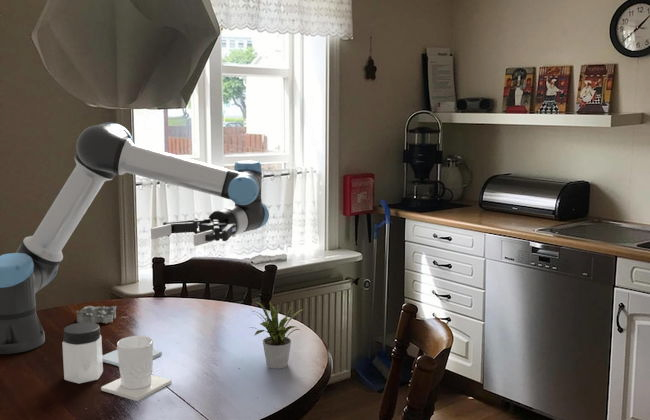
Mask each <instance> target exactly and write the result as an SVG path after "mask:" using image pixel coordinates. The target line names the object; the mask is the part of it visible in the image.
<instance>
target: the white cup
mask: <svg viewBox="0 0 650 420" xmlns="http://www.w3.org/2000/svg"><path fill="white" fill-rule="evenodd" d="M116 346H117V347H116V350H118V362H119V366H118V369H119V374H120V375H119V376H120V378H121V385H122V386H123V387H124V388H127V389H140V388H144V387H147V386H148V385H150V384H151V380H152V375H153V374H152V373H153V365H154V363H153V361H154V359H153V350H154V339H153V338H152V337H150V336H146V335H133V336H126V337H124V338H121V339H119V340H118V341H117V343H116Z"/></svg>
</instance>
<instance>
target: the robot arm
mask: <svg viewBox="0 0 650 420" xmlns="http://www.w3.org/2000/svg"><path fill="white" fill-rule="evenodd" d="M75 145H76V146H75V148H76V154H75V156H74V161H75V164H76V165H75V167H74V169H73V171H72V172H71V174H70V175H69V176H68V178H67V180H66V181H65V183H64V185H63V187H62V188H61V189H60V191H59V193H58V195H57V196H56V197H55V200H54V201H53V203H52V204H51V206H50V207H49V209H48V210H47V212H46V214H45V215H44V217H43V219H42V220H41V222H40V224H39V225H38V227H37V228H36V230H35V231H34V234H33V235H30V236H29V235H28V236H26V237H24V238H23V240H22V242H21V243H20V245H19V247H18V248H17V250H16V251H15V252H12V253H11V252H10V253H4V254H1V255H0V355H11V354H12V355H13V354H19V353H24V352H28V351H31V350H34V349H37V348H38V347H40V346H42V345H43V344H44V343H45V342H46V336H45V330H44V328H43V326H42V324H41V321H40V318H39V317H38V315H37V307H36V306H37V303H36V294H37V293H38V292H39V291H40V290H42V289H43V288H44V287H46V286H48V285H49V284H50V283H51V282H52V281H53V280H54V278H55V277H56V275H57V273H58V270H59V269H58V268H59V267H60V264H61V262H62V261H63V259H64V255H63V251H62V250H63V248H64V247H65V246H66V244H67V242H68V241H69V239H70V237H71V236H72V234H73V233H74V232H75V229H76V228H77V227H78V225H79V224H80V222H81V220H82V219H83V217H84V216H85V214H86V213H87V211H88V209H89V207H90V206H91V204H92V203H93V201H94V200H95V198H96V196H97V195H98V193H99V191H100V190H101V188H102V187H103V185H104V183H105V182H107V181H112V180H113V179H114V178H115V176H116V175H118V176H122V175H125V174H131V175H135V176H139V177H143V178H146V179H150V180H154V181H158V182H162V183H165V184H170V185H173V186H176V187H181V188H184V189H189V190H193V191H197V192H200V193H205V194H209V195H212V196H217V197H220V198H222V199H223V198H224V199H227V200H230V201H232V202H233V203H234V206H231V207H227V208H224V209H219V210H216V211H213V212H211V214H210V215H209V217H207V218H203V219H198V218H191V219H185V220H175V221H164V222H162V225H159V226H155V227H151V228H150V239H151V240H156V239H160V238H164V237H171V235H172V234H183V233H184V234H185V233H193V246H194V247H197V246H201V245H204V244H208V243H211V242H214V241H216V242H218V241H220V240H222V242H226V241H228V240H229V239H230V238H231V237H233V238H234V237H236V235H238V234H243V233H246V232H250V231H254V230H258V229H260V228H262V227H263V226H265V225H266V224H267V223H268V221H269V219H270V218H269V217H270V212H269V209H268V207H267V205H266V204H264V202H263V200H262V189H263V188H262V183H263V182H262V180H263V179H262V178H263V177H262V175H263V172H262V163H261V162H260V161H256V160H240V161H236V162H235V163H234V169H233V170H232V169H229V168H226V167H222V166H218V165H213V164H210V163H206V162H203V161H198V160H195V159H191V158H187V157H184V156H180V155H176V154H173V153H169V152H165V151H162V150H161V151H160V150H157V149H154V148H149V147H147V146H143V145H139V144H136V143H135V144H134V138H133V137H132V134H131V132H130V131H129V130H128V129H127V128H126V127H125V126H123V125H121V124H119V123H115V122H103V123H101V124H95V125H90V126H88V127H86V128H85V129H84V130H82V131H81V132H80V134H79V136H78V138H77V141H76V144H75Z"/></svg>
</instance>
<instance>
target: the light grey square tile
mask: <svg viewBox="0 0 650 420" xmlns="http://www.w3.org/2000/svg"><path fill="white" fill-rule="evenodd" d="M162 354H163V352H162V351H159V350H156V349H153V360H154V359H156V358H158V357H160V356H162ZM102 359H103V363H106V364H110V365H113V366H117V367H119V362H118V350H117V349H115V350H112V351H110V352H108V353H105V354H102Z"/></svg>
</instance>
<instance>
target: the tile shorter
mask: <svg viewBox="0 0 650 420" xmlns="http://www.w3.org/2000/svg"><path fill="white" fill-rule="evenodd" d="M171 384H172V379H169V378H165V377H161V376H157V375H154V374H152V380H151V384H150V385H148V386H147V387H144V388H140V389H127V388H124V387H123V386H122V385H121V377H119V378H118V379H115V380H113V381H111V382H109V383H106V384H104V385H102V386H101V387H100V391H102V392H106V393H109V394H113V395H115V396H119V397H122V398H125V399H129V400H131V401H134V402H140V401H141V400H143V399H144V398H147V397H149V396H151V395H152V394H154V393H156V392H159V390H160V391H161V390H162V389H164V388H166V387H167V386H169V385H171Z"/></svg>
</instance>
